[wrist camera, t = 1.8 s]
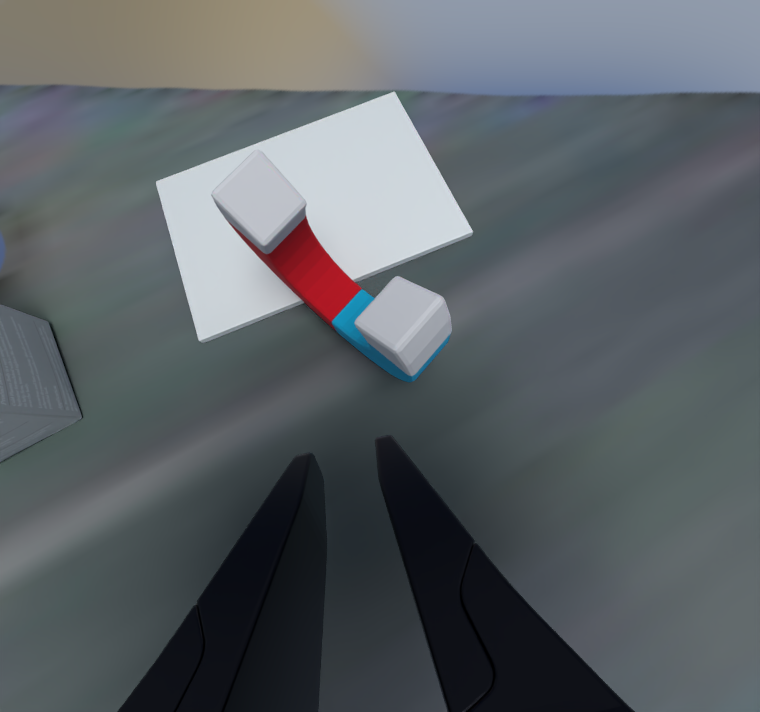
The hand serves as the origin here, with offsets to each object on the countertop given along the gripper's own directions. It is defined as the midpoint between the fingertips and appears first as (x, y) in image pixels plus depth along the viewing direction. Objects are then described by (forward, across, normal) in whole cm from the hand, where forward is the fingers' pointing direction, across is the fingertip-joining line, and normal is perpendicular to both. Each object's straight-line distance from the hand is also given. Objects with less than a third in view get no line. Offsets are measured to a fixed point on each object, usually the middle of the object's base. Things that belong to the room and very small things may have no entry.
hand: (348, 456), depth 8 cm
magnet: (+15, 0, +3) cm, 15 cm away
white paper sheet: (+22, +2, -4) cm, 22 cm away
